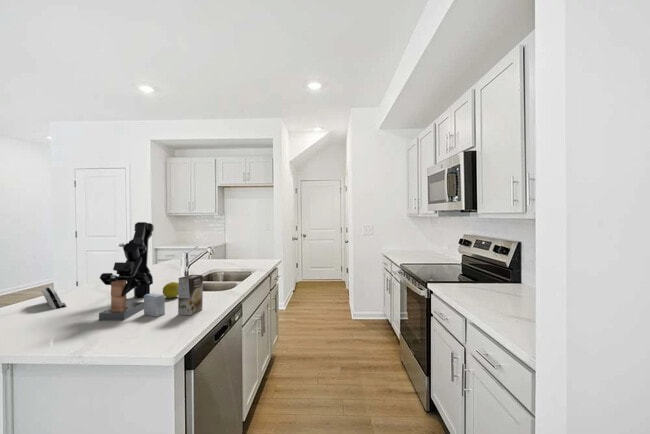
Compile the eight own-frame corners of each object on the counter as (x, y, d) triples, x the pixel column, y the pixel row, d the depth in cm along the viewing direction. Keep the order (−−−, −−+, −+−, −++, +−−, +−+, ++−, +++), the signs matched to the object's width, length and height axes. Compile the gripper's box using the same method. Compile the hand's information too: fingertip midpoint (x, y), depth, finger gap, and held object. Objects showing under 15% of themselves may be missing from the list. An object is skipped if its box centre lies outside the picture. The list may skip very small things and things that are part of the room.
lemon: (167, 301, 160) (167, 285, 160) (158, 298, 164) (158, 283, 164) (186, 296, 169) (186, 281, 169) (177, 294, 173) (177, 279, 173)
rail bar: (121, 308, 146) (121, 302, 146) (144, 308, 147) (144, 302, 147) (98, 320, 130) (98, 313, 130) (124, 320, 131) (124, 312, 131)
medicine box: (165, 314, 139) (165, 294, 139) (155, 317, 135) (155, 297, 135) (152, 311, 142) (153, 292, 142) (143, 314, 138) (143, 294, 138)
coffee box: (190, 315, 137) (190, 278, 137) (177, 314, 138) (177, 278, 138) (203, 309, 146) (203, 274, 146) (190, 308, 147) (190, 274, 147)
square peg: (116, 309, 137) (116, 280, 137) (126, 309, 137) (126, 280, 137) (111, 312, 133) (111, 282, 133) (120, 312, 133) (120, 282, 133)
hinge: (67, 306, 148) (57, 288, 146) (54, 312, 145) (44, 293, 142) (60, 300, 159) (51, 282, 157) (48, 305, 156) (39, 287, 153)
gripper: (102, 254, 139) (84, 285, 128) (146, 254, 140) (132, 285, 129) (113, 269, 147) (97, 299, 136) (154, 269, 148) (142, 299, 137)
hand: (116, 296), depth 134 cm, fingers closed on square peg, 4 cm apart
